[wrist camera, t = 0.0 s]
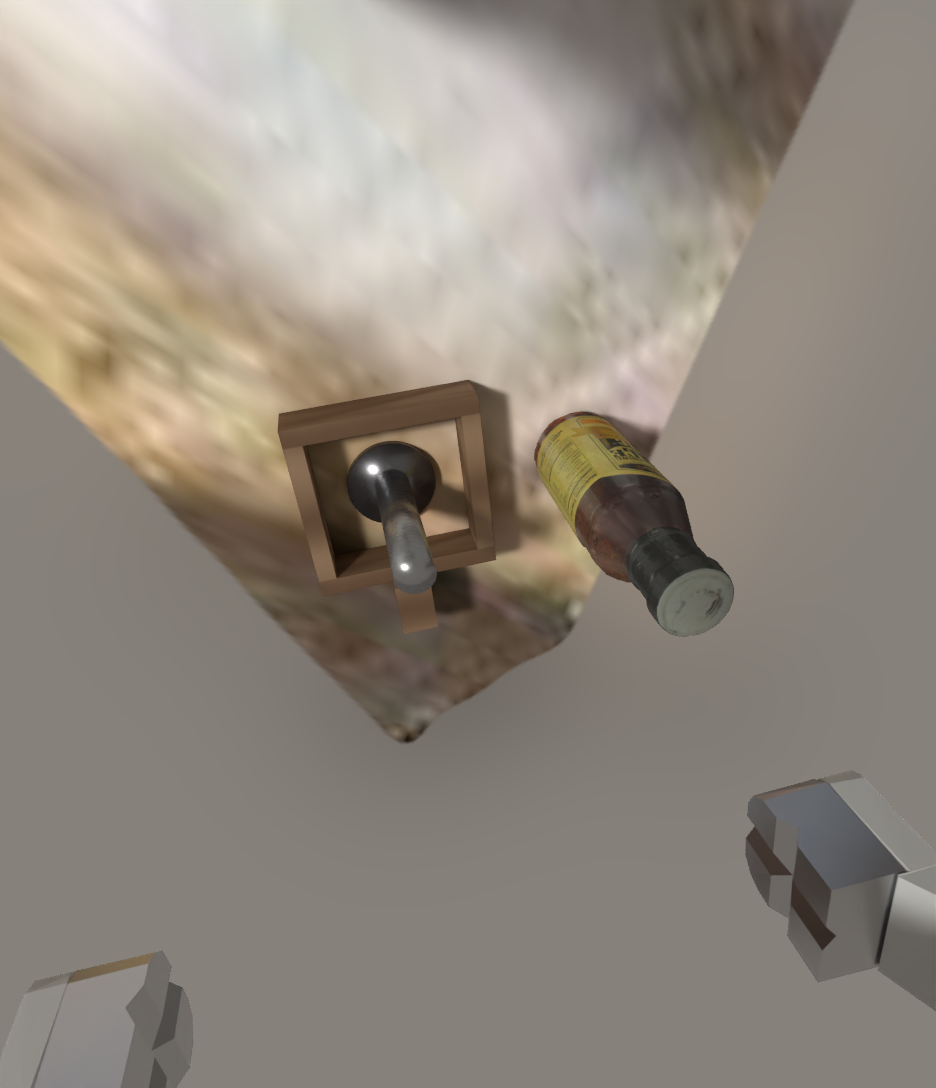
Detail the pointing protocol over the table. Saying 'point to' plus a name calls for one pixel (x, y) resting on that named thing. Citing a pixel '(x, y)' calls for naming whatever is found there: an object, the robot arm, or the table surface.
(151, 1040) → the robot arm
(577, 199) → the table surface
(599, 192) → the table surface
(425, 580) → the grey plunger shape
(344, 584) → the wooden frame with handle
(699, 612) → the sauce bottle
